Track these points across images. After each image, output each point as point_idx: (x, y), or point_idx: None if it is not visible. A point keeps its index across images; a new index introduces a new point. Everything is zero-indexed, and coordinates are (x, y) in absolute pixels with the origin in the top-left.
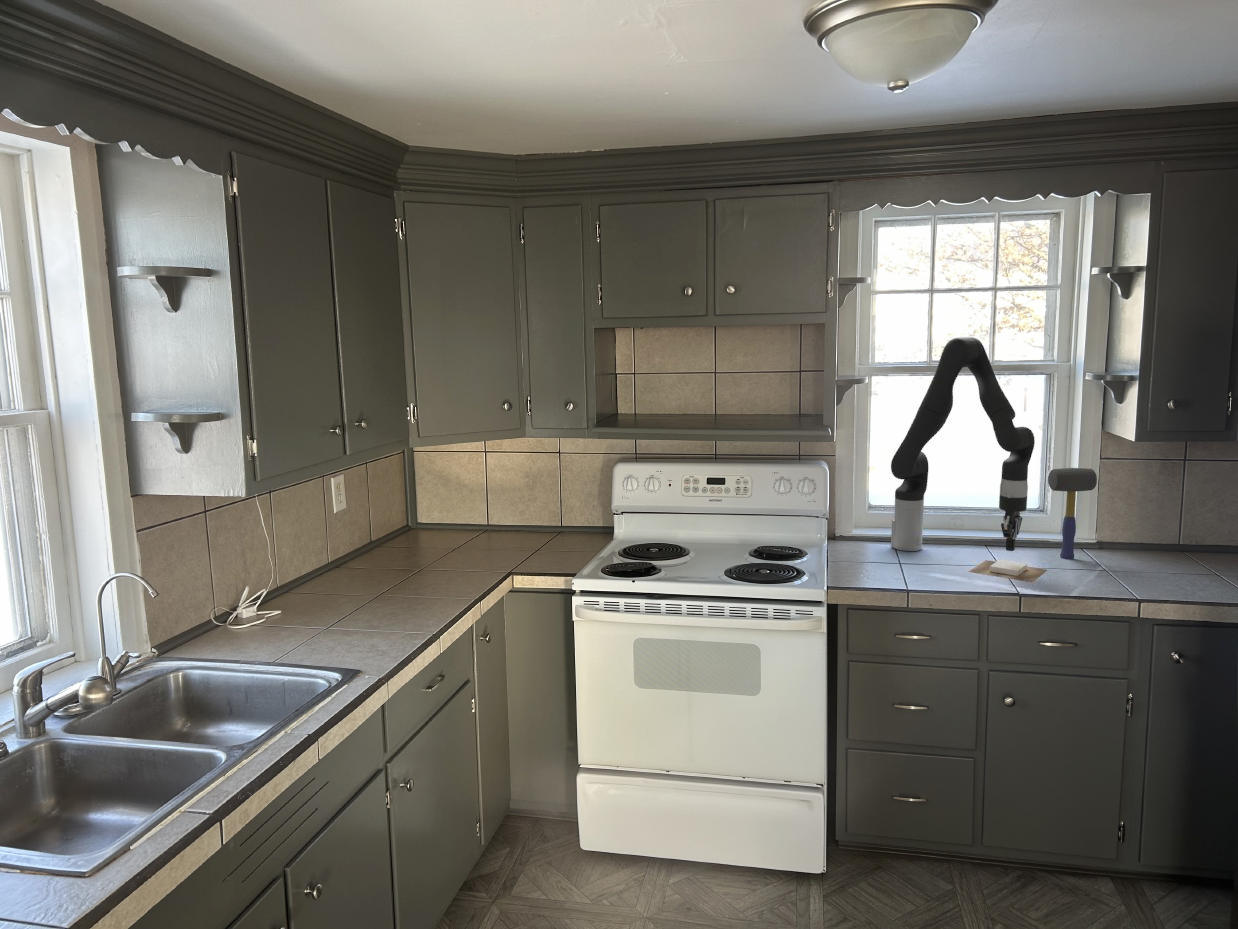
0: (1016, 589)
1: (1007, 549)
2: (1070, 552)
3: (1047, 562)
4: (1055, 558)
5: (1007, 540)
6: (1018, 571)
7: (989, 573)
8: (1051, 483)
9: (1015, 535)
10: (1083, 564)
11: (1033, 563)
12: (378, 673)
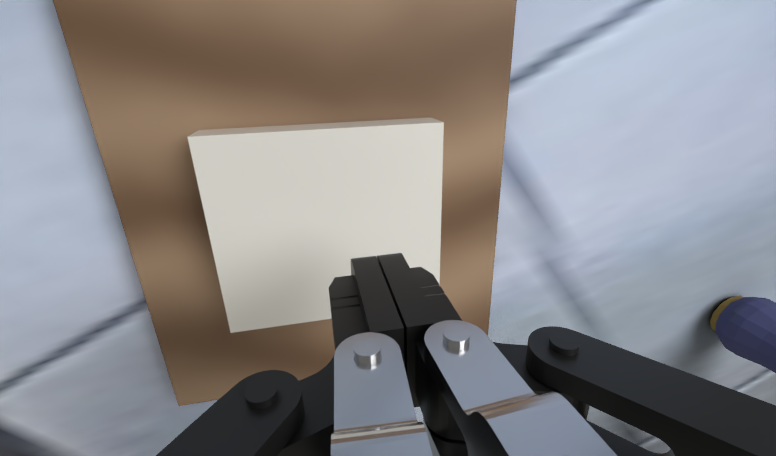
0: (44, 363)
1: (351, 274)
2: (757, 361)
3: (681, 262)
4: (762, 260)
5: (335, 347)
6: (243, 326)
7: (149, 147)
8: None
9: (431, 450)
10: (696, 370)
11: (639, 221)
12: None
